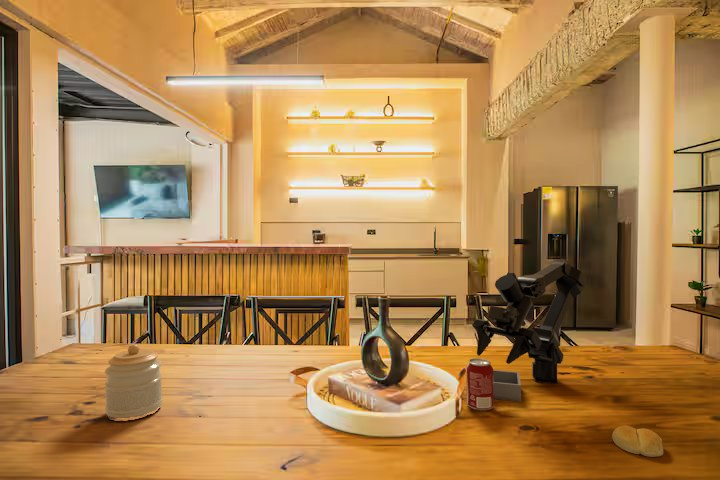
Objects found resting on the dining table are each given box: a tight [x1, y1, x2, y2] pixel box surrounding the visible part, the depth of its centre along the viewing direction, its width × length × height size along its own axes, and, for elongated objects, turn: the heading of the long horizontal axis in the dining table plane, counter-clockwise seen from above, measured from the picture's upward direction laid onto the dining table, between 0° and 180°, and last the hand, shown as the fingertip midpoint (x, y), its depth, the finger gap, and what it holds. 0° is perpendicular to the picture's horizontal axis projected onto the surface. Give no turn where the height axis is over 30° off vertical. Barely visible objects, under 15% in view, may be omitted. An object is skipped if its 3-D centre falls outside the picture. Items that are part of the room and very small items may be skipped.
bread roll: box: [611, 425, 664, 458], centre depth 87 cm, size 8×9×4 cm
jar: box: [104, 343, 163, 418], centre depth 107 cm, size 13×13×18 cm
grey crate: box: [493, 369, 522, 403], centre depth 117 cm, size 11×11×4 cm
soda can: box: [466, 357, 495, 412], centre depth 107 cm, size 7×7×12 cm
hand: (492, 358), depth 110 cm, fingers open, 9 cm apart
